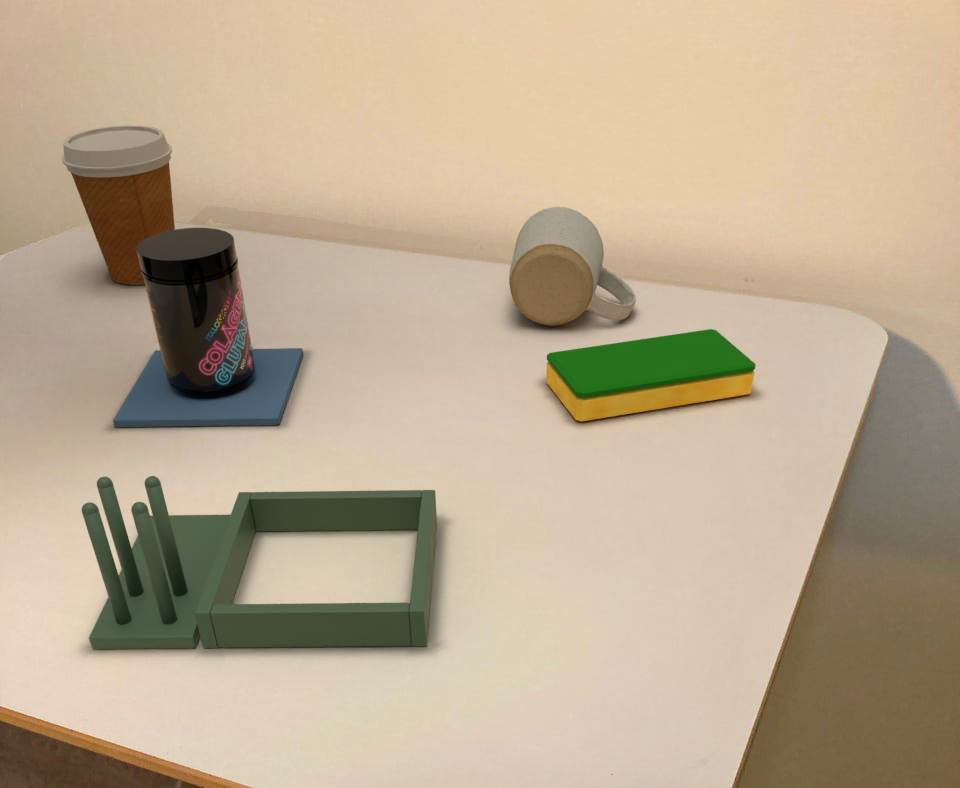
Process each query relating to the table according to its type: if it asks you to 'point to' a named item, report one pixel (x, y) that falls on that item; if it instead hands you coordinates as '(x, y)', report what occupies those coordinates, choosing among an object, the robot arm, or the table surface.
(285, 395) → the blue mat
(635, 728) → the table surface
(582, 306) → the ceramic mug
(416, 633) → the dish rack
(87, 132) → the disposable coffee cup
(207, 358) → the supplement container
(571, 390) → the dish sponge
